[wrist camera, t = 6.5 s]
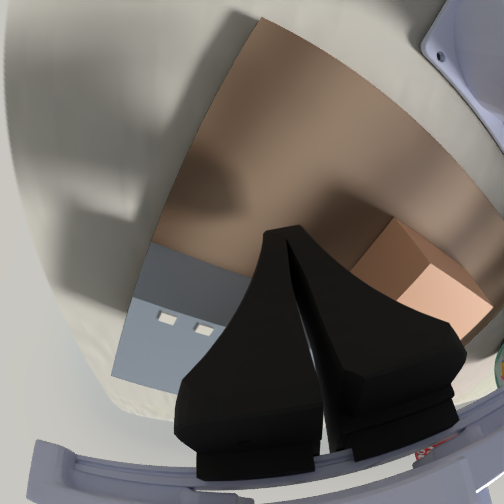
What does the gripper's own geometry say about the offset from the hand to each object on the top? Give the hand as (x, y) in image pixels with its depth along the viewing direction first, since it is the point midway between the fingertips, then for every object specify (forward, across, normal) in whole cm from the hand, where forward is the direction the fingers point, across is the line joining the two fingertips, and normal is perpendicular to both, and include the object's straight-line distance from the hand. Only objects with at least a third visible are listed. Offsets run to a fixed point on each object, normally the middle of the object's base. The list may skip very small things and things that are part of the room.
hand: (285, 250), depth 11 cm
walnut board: (+3, -6, +7) cm, 10 cm away
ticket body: (+2, +2, +7) cm, 8 cm away
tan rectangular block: (+2, -7, +6) cm, 9 cm away
